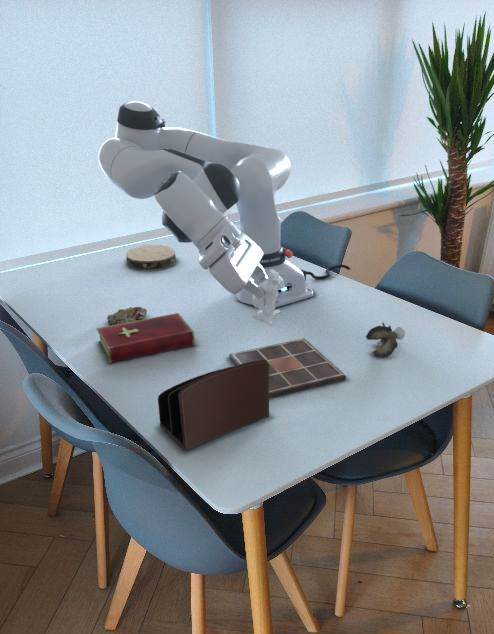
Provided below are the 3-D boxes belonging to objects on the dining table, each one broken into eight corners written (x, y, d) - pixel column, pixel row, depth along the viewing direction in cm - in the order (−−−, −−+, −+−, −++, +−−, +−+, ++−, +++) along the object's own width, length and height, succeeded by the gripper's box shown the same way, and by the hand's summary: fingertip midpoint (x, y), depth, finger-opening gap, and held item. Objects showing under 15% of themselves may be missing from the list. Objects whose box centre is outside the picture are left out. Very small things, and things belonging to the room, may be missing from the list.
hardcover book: (195, 346, 148) (194, 330, 146) (110, 364, 141) (107, 348, 139) (179, 326, 158) (178, 312, 155) (98, 342, 150) (96, 327, 148)
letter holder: (270, 417, 122) (270, 355, 115) (185, 452, 113) (179, 388, 105) (242, 395, 129) (241, 336, 121) (159, 427, 119) (152, 365, 112)
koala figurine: (280, 330, 129) (291, 279, 122) (249, 326, 129) (258, 274, 122) (279, 311, 136) (289, 262, 129) (249, 306, 135) (258, 257, 128)
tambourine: (185, 258, 201) (184, 250, 199) (154, 273, 190) (153, 264, 188) (148, 250, 208) (148, 242, 206) (116, 264, 197) (115, 255, 195)
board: (304, 342, 150) (304, 337, 149) (345, 380, 135) (346, 375, 134) (229, 358, 143) (229, 353, 142) (264, 399, 128) (264, 394, 127)
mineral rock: (140, 301, 165) (148, 304, 158) (143, 317, 167) (151, 320, 160) (101, 310, 161) (108, 314, 154) (105, 326, 163) (112, 330, 156)
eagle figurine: (372, 333, 152) (357, 340, 144) (391, 313, 147) (377, 320, 140) (392, 355, 150) (379, 364, 143) (412, 336, 146) (400, 344, 139)
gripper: (222, 235, 135) (263, 281, 139) (196, 267, 118) (244, 317, 122) (241, 217, 132) (283, 264, 136) (218, 246, 115) (267, 299, 119)
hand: (265, 289), depth 129 cm, fingers closed on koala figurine, 5 cm apart
